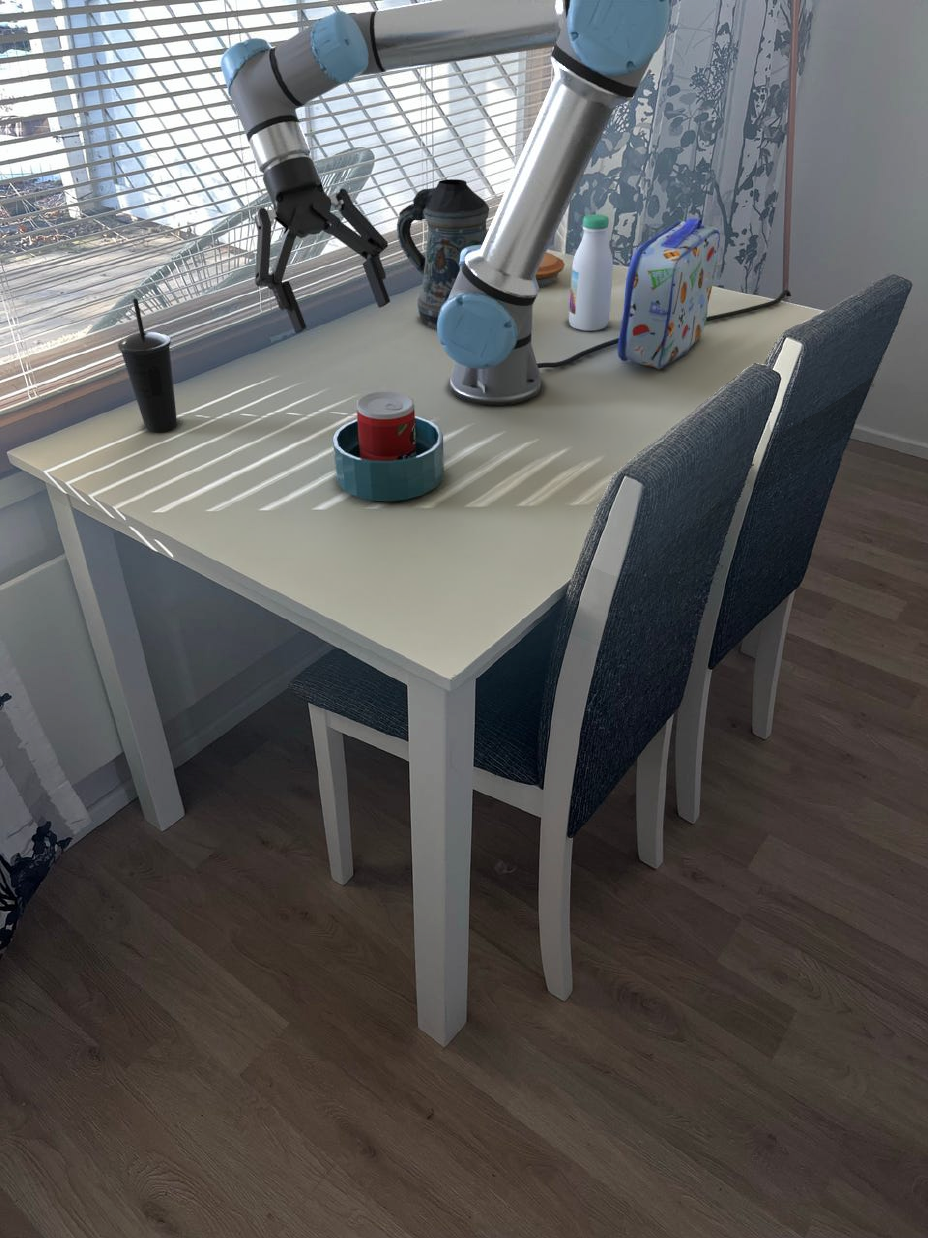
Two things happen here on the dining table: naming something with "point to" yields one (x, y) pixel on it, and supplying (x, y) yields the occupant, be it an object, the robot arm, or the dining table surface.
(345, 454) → the teal pet bowl
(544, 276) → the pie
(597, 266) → the milk bottle
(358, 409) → the canned food
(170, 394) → the drinking cup
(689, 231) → the lunch box
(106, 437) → the dining table surface
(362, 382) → the dining table surface
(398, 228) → the beer stein
